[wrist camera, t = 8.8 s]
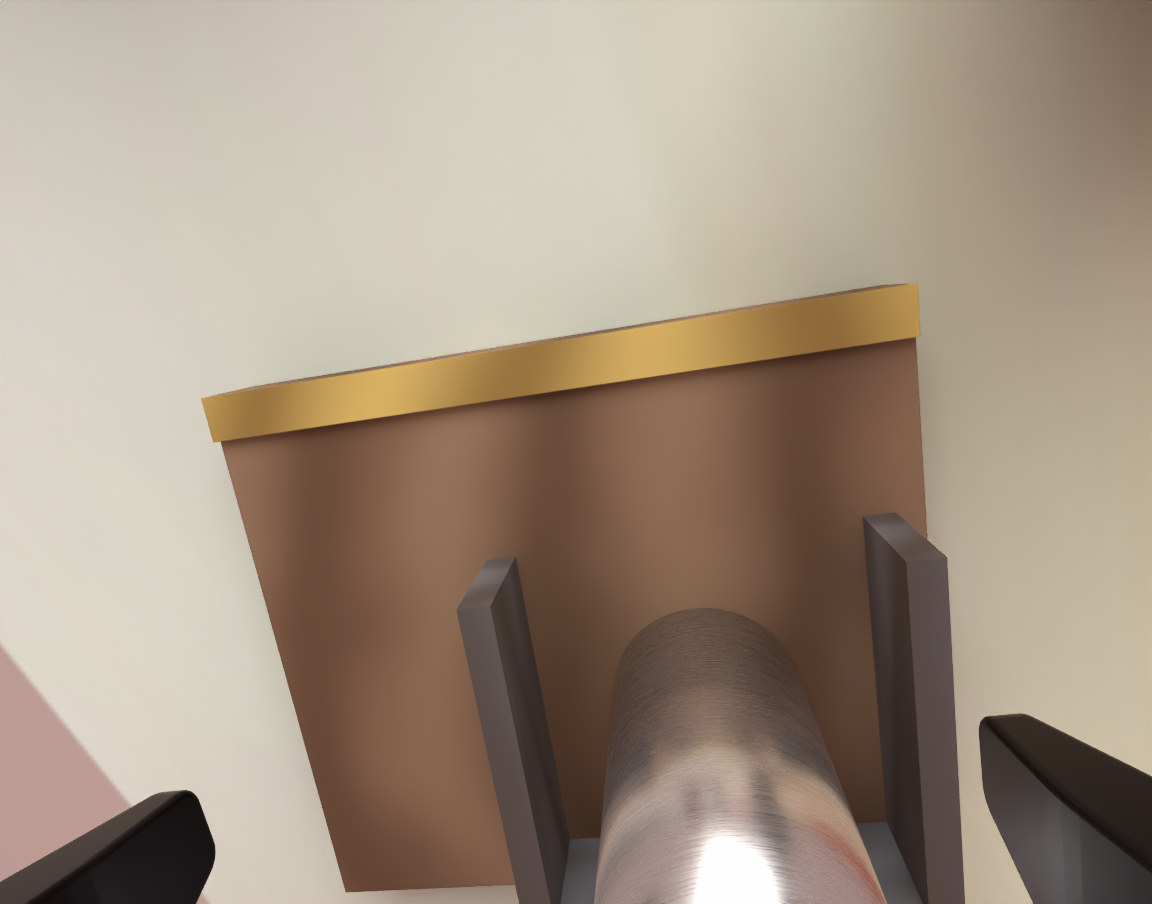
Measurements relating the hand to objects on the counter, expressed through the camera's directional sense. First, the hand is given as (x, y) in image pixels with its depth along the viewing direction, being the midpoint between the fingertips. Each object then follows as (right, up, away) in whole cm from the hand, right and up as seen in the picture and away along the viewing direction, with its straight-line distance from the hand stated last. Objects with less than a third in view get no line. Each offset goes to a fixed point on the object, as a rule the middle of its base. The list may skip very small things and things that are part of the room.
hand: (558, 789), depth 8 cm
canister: (+4, -3, +11) cm, 12 cm away
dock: (+1, -1, +13) cm, 13 cm away
